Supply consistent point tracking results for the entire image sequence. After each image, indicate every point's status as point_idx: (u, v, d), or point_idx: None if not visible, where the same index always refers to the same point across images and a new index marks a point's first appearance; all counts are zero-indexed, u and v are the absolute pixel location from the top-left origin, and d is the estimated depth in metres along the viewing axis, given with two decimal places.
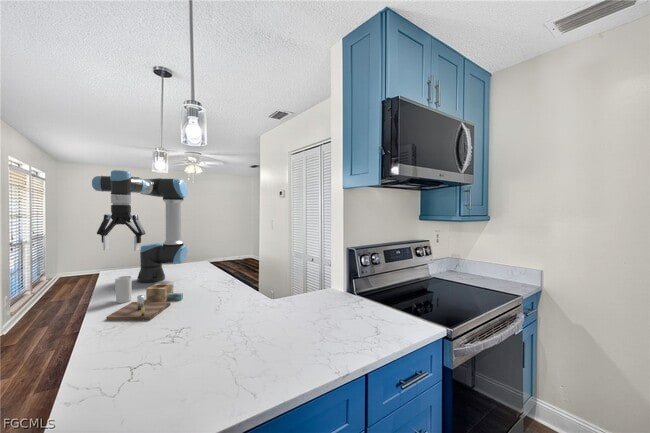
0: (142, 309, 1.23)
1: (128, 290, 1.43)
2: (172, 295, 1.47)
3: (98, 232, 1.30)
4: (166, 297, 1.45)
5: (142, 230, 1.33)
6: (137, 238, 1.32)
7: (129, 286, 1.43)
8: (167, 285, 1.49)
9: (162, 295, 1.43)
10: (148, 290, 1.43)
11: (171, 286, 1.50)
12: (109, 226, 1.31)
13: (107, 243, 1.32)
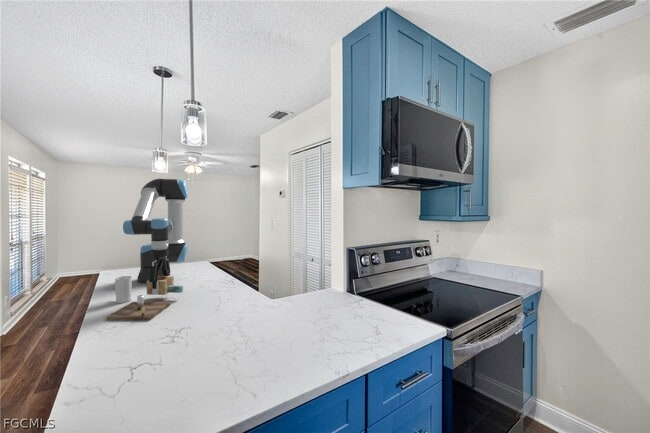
0: (142, 309, 1.23)
1: (128, 290, 1.43)
2: (172, 287, 1.47)
3: (154, 280, 1.40)
4: (166, 289, 1.46)
5: None
6: None
7: (129, 286, 1.43)
8: (167, 277, 1.49)
9: (162, 287, 1.44)
10: (148, 282, 1.43)
11: (171, 279, 1.50)
12: (159, 271, 1.44)
13: None
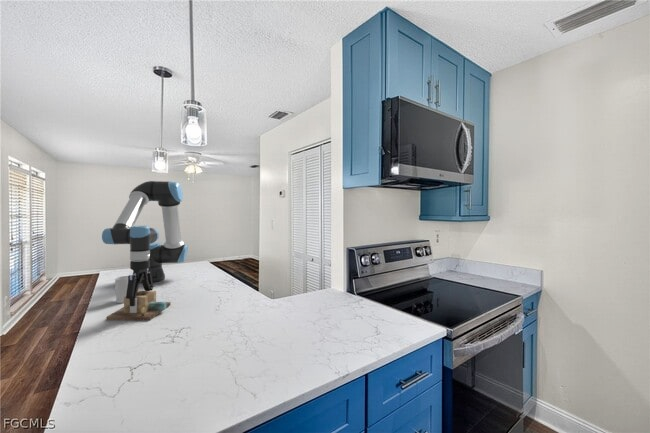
0: (142, 309, 1.23)
1: None
2: (154, 304, 1.30)
3: (132, 296, 1.23)
4: (147, 306, 1.28)
5: None
6: None
7: None
8: (148, 293, 1.31)
9: (142, 304, 1.26)
10: (126, 299, 1.26)
11: (153, 294, 1.33)
12: (138, 285, 1.26)
13: None
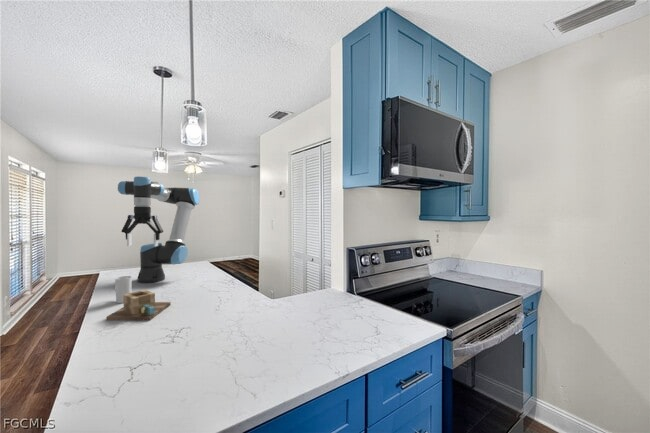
0: (142, 309, 1.23)
1: (128, 290, 1.43)
2: None
3: (123, 230, 1.50)
4: (138, 308, 1.26)
5: (160, 228, 1.52)
6: (156, 235, 1.51)
7: (129, 286, 1.43)
8: (145, 294, 1.29)
9: (132, 305, 1.25)
10: (124, 297, 1.28)
11: (150, 296, 1.30)
12: (132, 225, 1.50)
13: (130, 240, 1.51)
